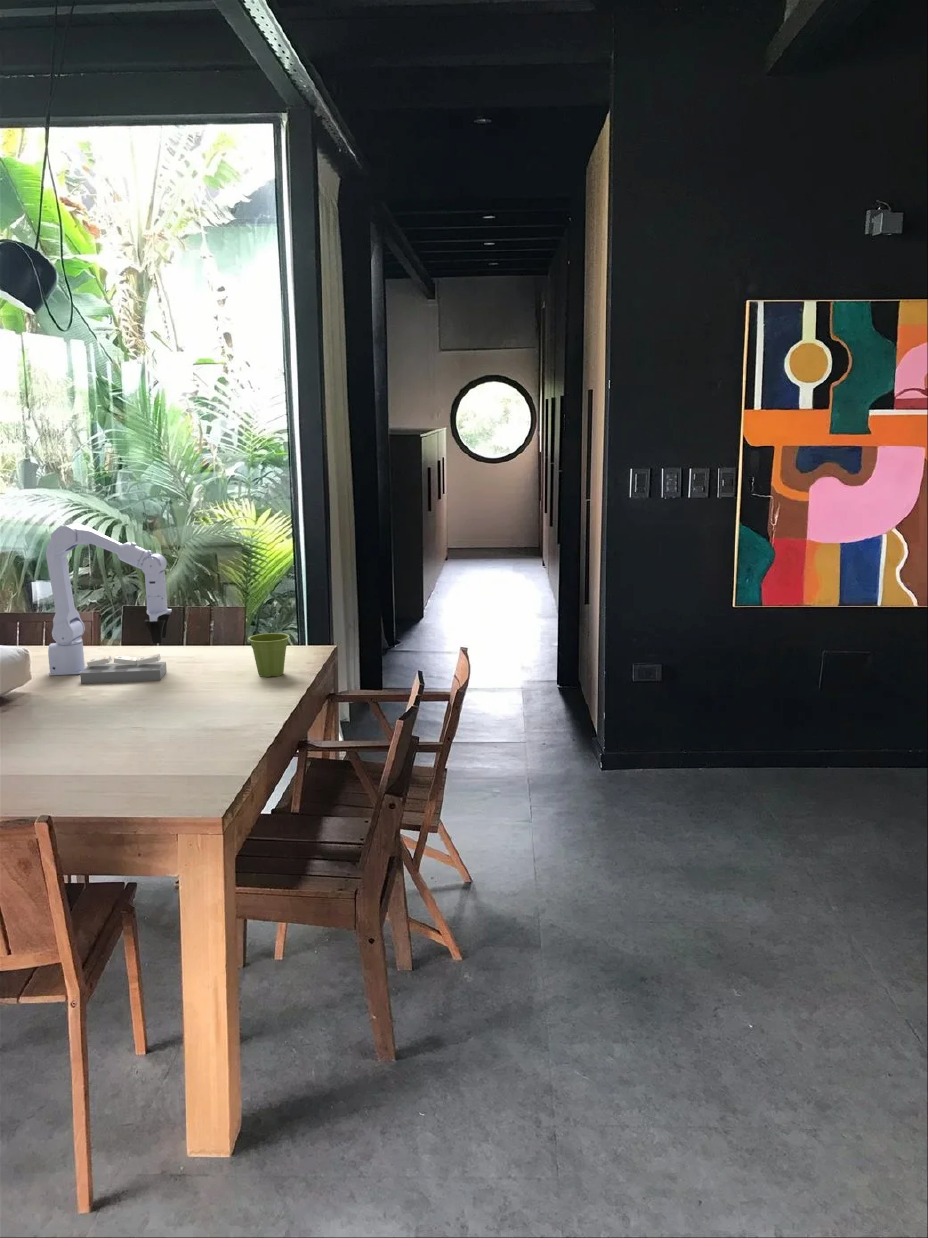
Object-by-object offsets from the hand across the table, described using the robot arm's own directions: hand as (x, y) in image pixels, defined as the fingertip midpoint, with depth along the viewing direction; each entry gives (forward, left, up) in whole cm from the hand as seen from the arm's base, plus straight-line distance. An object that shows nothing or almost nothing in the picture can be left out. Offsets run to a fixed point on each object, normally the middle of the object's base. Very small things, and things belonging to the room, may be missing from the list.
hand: (159, 640), depth 287 cm
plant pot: (+33, -8, -10) cm, 35 cm away
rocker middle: (-9, -3, -6) cm, 12 cm away
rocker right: (-2, -3, -6) cm, 8 cm away
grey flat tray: (-9, -5, -9) cm, 14 cm away
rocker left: (-16, -3, -6) cm, 18 cm away
